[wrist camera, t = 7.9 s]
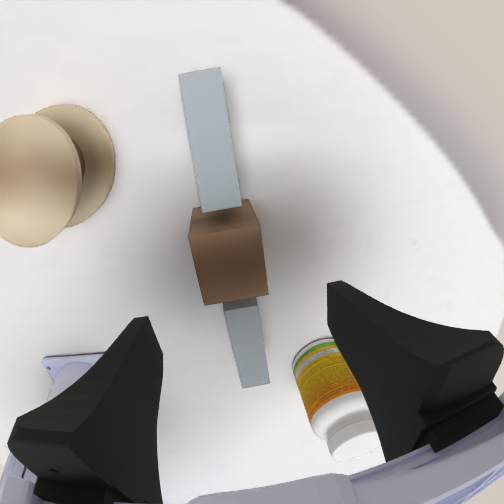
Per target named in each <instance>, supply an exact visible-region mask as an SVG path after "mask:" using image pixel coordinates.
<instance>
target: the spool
mask: <svg viewBox="0 0 504 504" xmlns="http://www.w3.org/2000/svg"><path fill="white" fill-rule="evenodd" d="M114 174H115V154H114V148H113V144H112V141H111V139H110V136H109V134H108V132H107V130H106V128H105V127H104V125H103V124H102V123H101V122H100V120H99V119H98V118H97V117H96V116H94V115H93V114H92V113H90V112H89V111H87V110H85V109H83V108H80V107H77V106H72V105H55V106H49V107H47V108H44V109H42V110H40V111H38V112H36V113H35V114H29V115H18V116H14V117H11V118H8V119H6V120H5V121H3V122H1V123H0V237H1V238H3V239H4V240H6V241H7V242H9V243H11V244H14V245H17V246H20V247H37V246H41V245H44V244H46V243H48V242H49V241H51V240H52V239H54V238H55V237H56V236H57V235H58V234H59V233H60V232H62V231H63V230H64V229H65V228H66V227H71V226H74V225H77V224H79V223H81V222H83V221H85V220H86V219H87V218H89V217H90V216H91V215H92V214H93V213H94V212H95V211H96V210H97V209H99V207H100V206H101V205H102V204H103V202H104V201H105V199H106V197H107V196H108V194H109V191H110V189H111V186H112V183H113V179H114Z"/></svg>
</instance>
